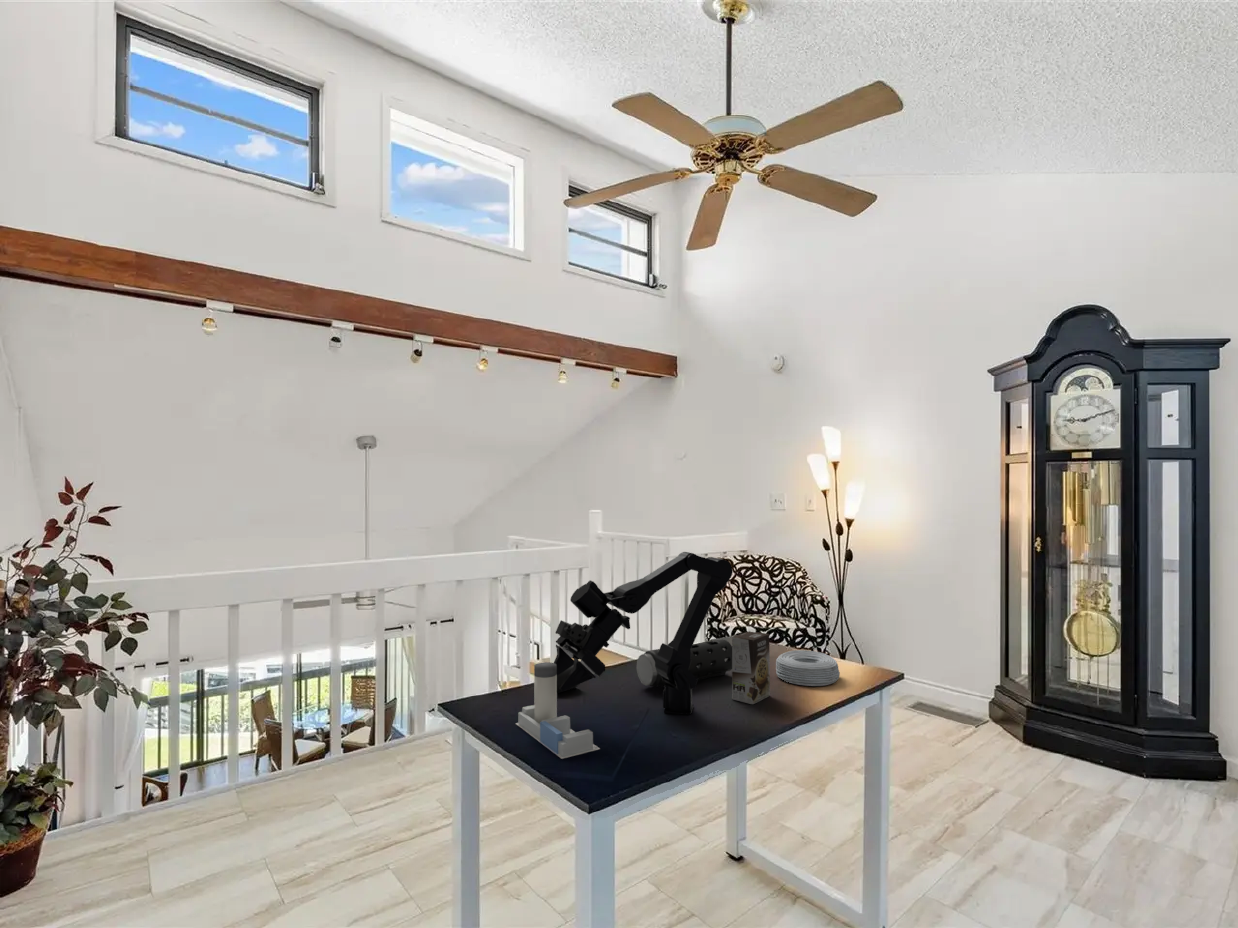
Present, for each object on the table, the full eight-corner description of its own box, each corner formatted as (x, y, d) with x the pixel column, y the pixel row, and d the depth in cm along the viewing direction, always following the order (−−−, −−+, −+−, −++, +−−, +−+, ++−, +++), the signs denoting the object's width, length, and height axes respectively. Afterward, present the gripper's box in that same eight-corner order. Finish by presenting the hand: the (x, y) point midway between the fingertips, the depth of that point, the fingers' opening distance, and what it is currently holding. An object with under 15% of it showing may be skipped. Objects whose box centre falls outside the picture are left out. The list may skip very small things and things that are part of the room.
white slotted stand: (550, 719, 158) (550, 698, 158) (600, 752, 139) (600, 729, 139) (515, 726, 153) (515, 705, 154) (561, 762, 134) (561, 738, 134)
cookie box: (753, 705, 167) (753, 640, 168) (731, 699, 171) (730, 636, 172) (771, 695, 174) (770, 633, 175) (749, 690, 178) (748, 629, 179)
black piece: (553, 698, 173) (553, 672, 173) (536, 692, 178) (536, 667, 178) (582, 690, 180) (582, 664, 180) (565, 684, 185) (565, 659, 185)
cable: (806, 666, 202) (806, 646, 202) (853, 681, 187) (853, 659, 187) (763, 675, 193) (762, 654, 193) (809, 692, 178) (808, 669, 178)
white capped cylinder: (559, 724, 152) (559, 662, 153) (552, 733, 147) (552, 669, 148) (538, 723, 153) (538, 661, 154) (531, 731, 148) (531, 667, 149)
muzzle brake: (736, 678, 190) (736, 641, 190) (654, 695, 175) (654, 656, 175) (714, 670, 198) (714, 635, 198) (634, 686, 183) (634, 648, 184)
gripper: (564, 601, 163) (519, 651, 158) (592, 615, 145) (542, 672, 141) (594, 631, 165) (551, 681, 161) (625, 648, 148) (578, 705, 144)
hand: (554, 684), depth 151 cm, fingers open, 9 cm apart
